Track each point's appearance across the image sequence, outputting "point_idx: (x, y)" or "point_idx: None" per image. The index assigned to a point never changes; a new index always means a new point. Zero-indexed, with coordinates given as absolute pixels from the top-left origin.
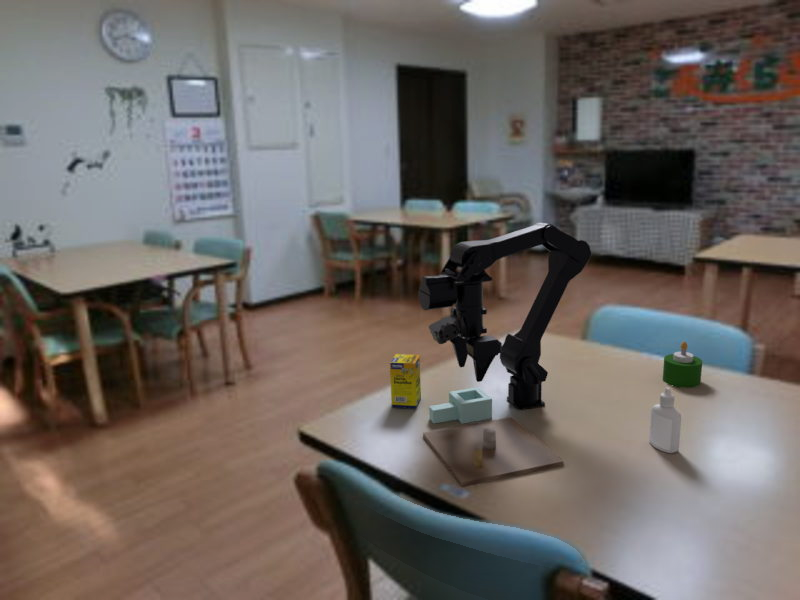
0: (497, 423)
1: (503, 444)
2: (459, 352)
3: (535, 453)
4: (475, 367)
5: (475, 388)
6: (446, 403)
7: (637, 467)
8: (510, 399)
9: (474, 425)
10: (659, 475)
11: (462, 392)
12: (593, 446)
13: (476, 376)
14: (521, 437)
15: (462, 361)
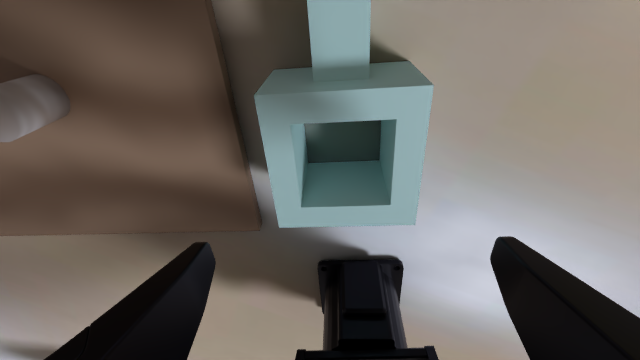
0: (221, 180)
1: (69, 143)
2: (587, 354)
3: (25, 198)
4: (90, 336)
5: (405, 211)
6: (367, 38)
7: (34, 317)
8: (363, 267)
9: (215, 105)
10: (12, 327)
11: (394, 148)
12: (111, 300)
13: (168, 267)
14: (120, 203)
15: (512, 285)
